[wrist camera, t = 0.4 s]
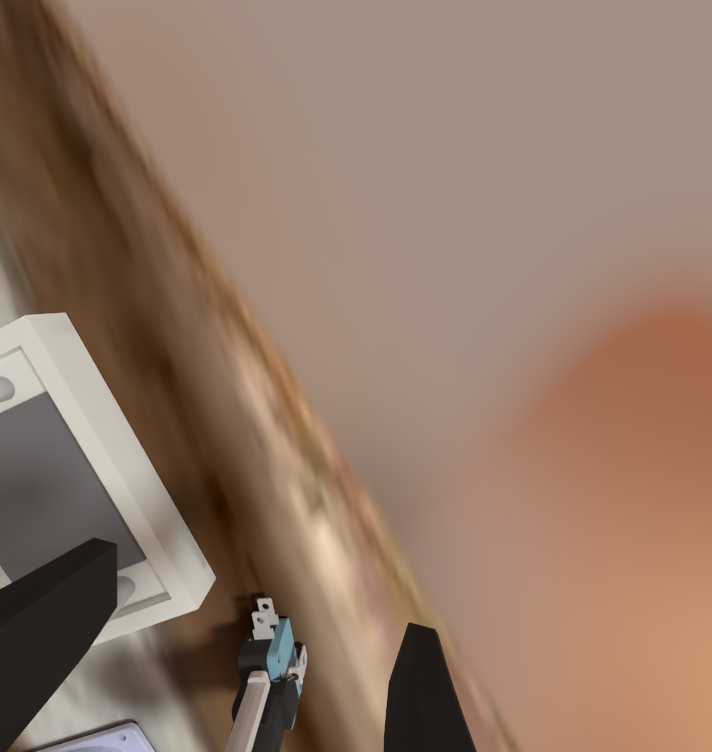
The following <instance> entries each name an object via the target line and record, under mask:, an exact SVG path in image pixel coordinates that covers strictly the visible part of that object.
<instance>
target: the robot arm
mask: <svg viewBox="0 0 712 752" xmlns="http://www.w3.org/2000/svg"><path fill="white" fill-rule="evenodd" d="M116 608H117V544H116V543H113V542H109V541H105V540H101V539H98V538H92V539H90V540H88V541H86V542H85V543H83V544H81V545H79V546H77V547H75V548H74V549H72V550H70V551H68V552H66V553H65V554H63V555H61V556H59V557H57V558H56V559H54V560H52V561H50V562H48V563H47V564H45V565H43V566H41V567H39V568H38V569H36V570H34V571H32V572H30V573H29V574H27V575H25V576H23V577H21V578H20V579H18V580H16V581H14V582H12V583H10V584H9V585H7V586H5V587H3V588H1V589H0V752H6V751H7V750H8V749H9V747H10V746H11V745H12V744H13V742H14V741H15V740H16V739H17V738H18V736H19V735H20V734H21V733H22V731H23V730H24V729H25V728H26V727H27V725H28V724H29V723H30V722H31V720H32V719H33V718H34V717H35V716H36V714H37V713H38V712H39V711H40V709H41V708H42V707H43V706H44V705H45V703H46V702H47V701H48V700H49V698H50V697H51V696H52V695H53V694H54V692H55V691H56V690H57V689H58V687H59V686H60V685H61V684H62V683H63V681H64V680H65V679H66V678H67V676H68V675H69V674H70V673H71V671H72V670H73V669H74V668H75V666H76V665H77V664H78V663H79V661H80V660H81V659H82V658H83V656H84V655H85V654H86V653H87V651H88V650H89V648H90V647H91V645H92V644H93V642H94V641H95V639H96V638H97V637H98V635H99V634H100V632H101V631H102V629H103V628H104V626H105V625H106V623H107V621H108V620H109V618H110V617H111V615H112V614H113V612H114V611H115V609H116ZM36 752H155V750H154V749H153V747H152V746H151V744H150V743H149V741H148V740H147V738H146V737H145V735H144V734H143V732H142V731H141V729H140V728H139V726H138V725H137V724H135V723H127V724H124V725H121V726H117V727H114V728H111V729H108V730H104V731H101V732H98V733H95V734H91V735H88V736H85V737H82V738H78V739H75V740H72V741H69V742H65V743H62V744H59V745H56V746H52V747H49V748H46V749H43V750H39V751H36ZM384 752H477V751H476V748H475V746H474V743H473V740H472V738H471V735H470V732H469V730H468V727H467V724H466V721H465V719H464V716H463V713H462V710H461V707H460V704H459V701H458V698H457V695H456V692H455V689H454V686H453V683H452V680H451V677H450V674H449V670H448V667H447V664H446V661H445V657H444V654H443V650H442V647H441V643H440V640H439V636H438V633H437V632H436V630H435V629H432V628H428V627H425V626H421V625H417V624H413V623H410V622H409V623H408V626H407V629H406V632H405V635H404V638H403V641H402V644H401V647H400V650H399V653H398V656H397V659H396V662H395V665H394V668H393V671H392V674H391V677H390V680H389V687H388V698H387V708H386V720H385V732H384Z"/></svg>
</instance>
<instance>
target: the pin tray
mask: <svg viewBox="0 0 712 752" xmlns="http://www.w3.org/2000/svg"><path fill="white" fill-rule="evenodd" d="M92 538H98V539H101V540H105V541H109V542H113V543H116V544H117V608H116V609H115V611H114V612H113V614H112V615H111V617H110V618H109V620H108V621H107V623H106V625H105V626H104V628H103V629H102V631H101V632H100V634H99V635H98V637H97V638H96V639H95V641H94V642H93V644H92V645H91V646H94V645H96V644H99V643H102V642H105V641H108V640H111V639H114V638H117V637H119V636H122V635H125V634H128V633H131V632H134V631H137V630H139V629H142V628H145V627H148V626H151V625H154V624H157V623H160V622H162V621H165V620H168V619H171V618H174V617H177V616H180V615H183V614H185V613H188V612H191V611H194V610H197V609H198V608H199V607H200V605H201V603H202V602H203V600H204V598H205V596H206V595H207V593H208V591H209V590H210V588H211V586H212V585H213V583H214V581H215V579H216V576H215V575H214V573H213V571H212V569H211V568H210V566H209V564H208V562H207V561H206V559H205V557H204V555H203V554H202V552H201V550H200V548H199V547H198V545H197V543H196V541H195V539H194V538H193V536H192V534H191V532H190V531H189V529H188V527H187V525H186V524H185V522H184V520H183V518H182V517H181V515H180V513H179V511H178V510H177V508H176V506H175V504H174V503H173V501H172V499H171V497H170V495H169V494H168V492H167V490H166V488H165V487H164V485H163V483H162V481H161V480H160V478H159V476H158V474H157V473H156V471H155V469H154V467H153V466H152V464H151V462H150V460H149V459H148V457H147V455H146V453H145V451H144V450H143V448H142V446H141V444H140V443H139V441H138V439H137V437H136V436H135V434H134V432H133V430H132V429H131V427H130V425H129V423H128V422H127V420H126V418H125V416H124V414H123V413H122V411H121V409H120V407H119V406H118V404H117V402H116V400H115V399H114V397H113V395H112V393H111V392H110V390H109V388H108V386H107V385H106V383H105V381H104V379H103V378H102V376H101V374H100V372H99V370H98V369H97V367H96V365H95V363H94V362H93V360H92V358H91V356H90V355H89V353H88V351H87V349H86V348H85V346H84V344H83V342H82V341H81V339H80V337H79V335H78V334H77V332H76V330H75V328H74V326H73V325H72V323H71V321H70V319H69V318H68V316H67V314H66V313H52V314H36V315H25V316H23V317H21V318H19V319H17V320H15V321H13V322H12V323H10V324H8V325H6V326H4V327H2V328H0V589H1V588H3V587H5V586H7V585H9V584H10V583H12V582H14V581H16V580H18V579H20V578H21V577H23V576H25V575H27V574H29V573H30V572H32V571H34V570H36V569H38V568H39V567H41V566H43V565H45V564H47V563H48V562H50V561H52V560H54V559H56V558H57V557H59V556H61V555H63V554H65V553H66V552H68V551H70V550H72V549H74V548H75V547H77V546H79V545H81V544H83V543H85V542H86V541H88V540H90V539H92Z"/></svg>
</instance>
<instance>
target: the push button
mask: <svg viewBox="0 0 712 752" xmlns="http://www.w3.org/2000/svg"><path fill="white" fill-rule="evenodd" d="M257 602H258V607H259V611H256V612H253V613H252V618H253V622H254V627H255V629H253V635H247V636H246V638H245V640H244V643H243V645H242V648H241V650H240V653H239V655H238V659H237V665H238V669H239V673H240V677H241V685H240V687H239V690H238V693H237V696H236V698H235V701H234V704H233V707H232V719H233V722H234V724H233V727H232V730H231V734H230V737H229V740H228V743H227V746H226V749H225V751H224V752H279V751H280V747H281V743H282V738H283V734H284V729H292V728H293V725H294V720H295V716H296V715H297V711H298V706H299V696H300V694H301V689H302V683H303V680H302V678H304V673H305V669H306V664H307V654H306V649H305V645H303V646H302V650H301V654H300V658H299V664H298V659H297V654H296V650H295V645H294V640H293V635H292V630H291V626H290V621H289V618H283V619H278V614H275V613H274V608H273V604H272V599H271V598H259V599H258V600H257ZM263 604H268V605H269V608H268V609H264V608H263V607H262V605H263ZM257 618H258V619H259V621H257ZM303 655H304V663H303Z"/></svg>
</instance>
